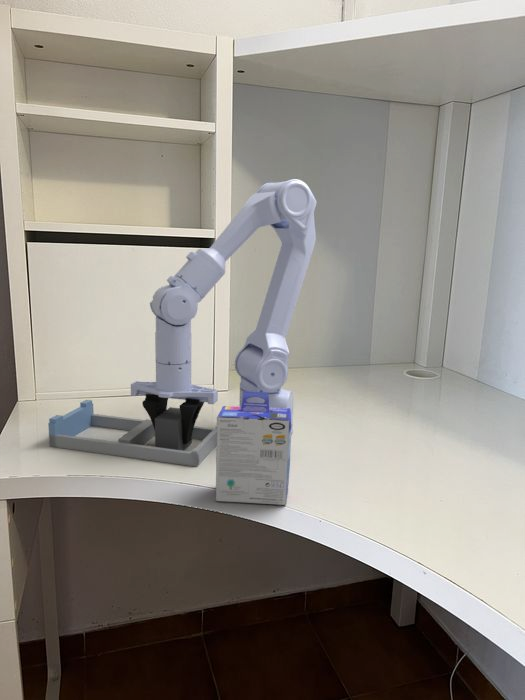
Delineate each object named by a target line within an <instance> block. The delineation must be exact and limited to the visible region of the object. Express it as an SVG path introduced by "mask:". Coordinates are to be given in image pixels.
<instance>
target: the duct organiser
mask: <svg viewBox="0 0 525 700" xmlns="http://www.w3.org/2000/svg"><path fill="white" fill-rule="evenodd" d="M79 403H80V404H79V407H77V408H75V409H73V410H71V411H69V412H67V413H66V414H64V415H60V414H59V415H58V414H56V415H54V416H52V417H50V418H49V421H48V439H49V442H48V444H49V447H52V448H53V447H54V448H59V449H67V450H72V451H73V450H74V451H80V452H87V453H88V452H89V453H95V454H103V455H110V456H116V457H124V458H130V459H139V460H145V461H146V460H147V461H154V462H160V463H165V464H166V463H167V464H174V465H182V466H190V467H195V468H196V467H199V465H200V464H201V463H202V462H203V461H204V460H205V459H206V457H207V456H208V455H209V454H211V452H212V451H213V450H214V449H215V448H216V446H217V425H216V426H215V428H214V427H206V426H196V425H194V428H193V432H192V439H194V440H202V441H201V442H199V443H198V445H197V446H195V448H194V449H192V451H188V450H184V451H182V450H174V449H167V448H159V447H155V446H150V445H144V444H146V443H147V442H149V441H150V440H151V439H152V438H154V437H155V430H154V427H153V424H152V421H151V419H147V418H146V419H141V418H140V419H139V418H131V417H122V416H115V415H114V416H113V415H107V414H98V413H97V414H96V413H94V403H93V400H91V399H85V400H83V401H81V402H79ZM92 426H93V427H101V428H107V429H108V428H109V429H116V430H125V431H128V432H126V433H124V434H123V435H122V436H121V437H119V438H118V440H117V441H115V440H114V441H113V440H105V439H98V438H97V439H96V438H90V437H83V436H78V435H79V434H80V433H82V432H83V431H85V430H87V429H88V428H90V427H92Z"/></svg>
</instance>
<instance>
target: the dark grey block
mask: <svg viewBox="0 0 525 700" xmlns="http://www.w3.org/2000/svg"><path fill="white" fill-rule="evenodd" d="M154 439H155V441H154V444H155V445H154V447H159V448H167V449H174V450H182V451H186V449H188V448H189V447H190V446H191V444H192V443H193V438H191V441H190V442H189V443H187V444H183V440H182V417H181V412H180V407H171V406H170V407H169V408H168V407H167V410H166V411H164V412H163V413H162V414H160V415H159V416H158V417H156V418H155V436H154Z"/></svg>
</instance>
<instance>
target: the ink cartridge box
mask: <svg viewBox="0 0 525 700" xmlns="http://www.w3.org/2000/svg"><path fill="white" fill-rule="evenodd" d="M251 397H259V398H262V399H264V400H265V402H264V403H249V402H247V401H246V399H247V398H251ZM220 409H221V410H220V411H219V413H218V415H216V416H217V417H216V426H217V445H216V446H215V448H216V450H215V451H216V454H215V455H216V456H215V457H216V458H215V463H216V465H215V467H216V468H215V501H217V502H228V503H245V504H246V503H247V504H263V505H280V506H281V505H282V506H284V505H285V506H286V505H287V500H288V495H289V484H290V469H291V451H292V450H291V446H292V445H291V442H292V434H291V410H290V408H271V407H269V393H266V392H249V391H243V400H242V406H241V407H239V406H234V405H233V406H230V405H229V406H228V405H223V406H222V407H221V408H220Z"/></svg>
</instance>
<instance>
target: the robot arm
mask: <svg viewBox="0 0 525 700" xmlns="http://www.w3.org/2000/svg"><path fill="white" fill-rule="evenodd" d="M316 207H317V200H316V197H315V195H314V194H313V192H312V190H311V188H310V187H309V185H308V184H307V183H305V182H304V181H303V180H301V179H296V178H294V179H288V180H287V181H281V182H280V181H279V182H267V183H264V184H263V185H261V186H260V187H259V188H258V190H257V191H256V192H255V193H253V194H252V195H251V196H249V197H248V199H247V200H246V202H245V203H244V205H243V206H242V208H241V209H240V210H239V211H238V213H237V214H236V215H235V216H234V217H233V218H232V219H231V221H230V222H229V223H228V224H227V226H226V227H225V228H224V230H223V231H221V233H220V235H219V236H218V237H217V238H216V240H215V241H214V242H213V243H212V244H211V246H210V247H209V248H198V249H197V250H196V251H195V252H194V251H190V252H188V254H187V255H186V257H185V258H186V259H187V261H186V262H185V263H184V265H183V266H182V267H181V268H180V269H179V270H178V271H177V272H176V273H175V274H174V275H173V276H172V275H170V276H169V277H168V278H167V279H166V281H167V283H168V284H167V285H165V286H161V287H159V288H158V289H157V290H156V291H155V292H154V294H153V296H152V300H151V301H150V303H149V307H150V310H151V312H152V313H153V314H154V316H155V333H154V335H155V339H154V340H155V341H154V343H155V349H154V350H155V351H154V352H155V381H134V382H132V383H130V396H132V397H133V396H134V397H136V396H145V397H144V398H145V399H144V400H142V407H143V409H144V410H145V412H146V413H147V415H148V417H149V420H151V421H152V424H153V427H154V430H155V418H156V417H158V416H159V415H160V414H162V413H163V412H164V411H166V410H167V409H168V402H169V399H172V400H173V399H175V400H181V401H183V403H181V404H180V405H179V408H180V412H181V417H182V440H183V444H187V443H189V442H190V441H191V438H192V432H193V428H194V426H196V421H197V419H198V416H199V414H200V412H201V410H202V407H203V406H204V404H205V403H207V404H209V405H215V404H216V403H217V402H218V401H219V399H218V398H219V392H218V391H219V390H218V389H215V388H209V387H205V386H200V385H196V384H192V320H193V319H194V318H195V317H196V315H197V312H198V307H199V303H200V302H201V301H202V300H203V299H204V298H205V297H206V296H207V295H208V294H209V292H210V291H211V290H212V289H213V288H214V287H215V286H216V285H217V283H218V282H219V281H220V280H221V279H222V278H223V276H224V275H225V274H226V262H227V261H228V260H229V258H231V257H232V256H233V255H234V253H236V252H237V250H238V249H239V248H240V247H242V245H243V244H244V243H246V241H247V240H248V239H249V238H250V237H251V236H252V235H253V234H254V233H255V232H256V231H257V230H258V229H260V228H262V227H266V226H271V227H272V228H273V230H274V231H275V233H276V236H278V238H279V240H280V242H281V246H280V249H279V252H278V256H277V260H276V262H275V266H274V270H273V273H272V276H271V278H270V282H269V285H268V288H267V292H266V295H265V298H264V302H263V305H262V308H261V310H260V311H261V312H260V315H259V317H258V321H257V325H256V328H255V330H253V332H252V333H250V334H249V335H248V336H247V337H246V339H245V343H244V345H243V347H242V348H241V349H240V350H239V351H238V352H237V354H236V356H235V359H234V368H235V369H234V370H235V371H236V374H237V375H238V376H239V377H240V383H239V405H238V407H241V406H242V400H243V391H249V392H266V393H269V407H271V408H290V410H291V435H292V434H293V431H294V428H293V421H294V392H293V390H292V391H291V390H287V389H284V388H282V387H283V386H284V385H285V384H286V381H287V380H288V378H289V366H288V363H289V362H288V361H289V357H290V354H291V353H290V350H289V346H288V344H287V340H286V338H287V334H288V332H289V328H290V325H291V321H292V319H293V315H294V314H295V313H294V312H295V309H296V305H297V304H298V299H299V297H300V292H301V290H302V286H303V284H304V280H305V277H306V273H307V271H308V268H309V264H310V261H311V258H312V254H313V251H314V248H315V244H316V241H317V238H316V237H317V235H316V225H315V215H314V213H315V209H316ZM246 401H247V402H249V403H264V402H265V400H264V399H262V398H259V397H251V398H247V399H246ZM192 439H193V438H192Z"/></svg>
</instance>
